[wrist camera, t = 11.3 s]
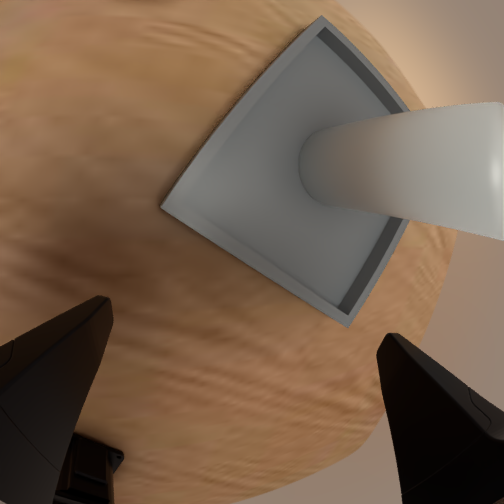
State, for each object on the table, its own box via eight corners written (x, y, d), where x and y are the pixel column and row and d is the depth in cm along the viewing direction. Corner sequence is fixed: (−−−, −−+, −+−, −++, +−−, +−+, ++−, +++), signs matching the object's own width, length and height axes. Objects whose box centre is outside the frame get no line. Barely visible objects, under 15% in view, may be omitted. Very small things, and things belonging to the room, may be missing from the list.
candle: (338, 221, 20) (505, 265, 8) (283, 173, 18) (475, 175, 6) (372, 163, 20) (528, 170, 8) (324, 113, 18) (494, 76, 6)
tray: (330, 316, 23) (348, 328, 21) (159, 205, 17) (160, 207, 14) (418, 154, 23) (438, 153, 21) (305, 28, 17) (321, 15, 15)
